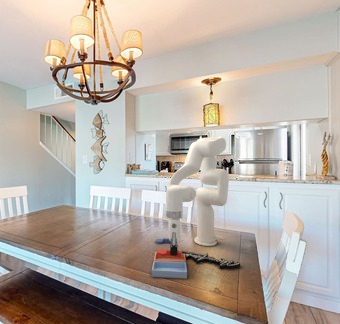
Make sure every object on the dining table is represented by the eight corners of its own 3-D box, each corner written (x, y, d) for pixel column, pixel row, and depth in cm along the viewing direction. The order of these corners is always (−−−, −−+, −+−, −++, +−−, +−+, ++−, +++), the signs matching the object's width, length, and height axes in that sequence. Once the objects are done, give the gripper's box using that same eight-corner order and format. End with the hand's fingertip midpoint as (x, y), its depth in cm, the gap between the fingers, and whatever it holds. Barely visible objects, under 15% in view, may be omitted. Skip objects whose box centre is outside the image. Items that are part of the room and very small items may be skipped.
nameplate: (240, 258, 97) (240, 269, 88) (240, 261, 97) (240, 272, 88) (182, 248, 108) (177, 257, 98) (182, 251, 108) (177, 260, 98)
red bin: (184, 259, 100) (184, 253, 100) (185, 267, 92) (185, 261, 92) (155, 257, 101) (155, 252, 101) (153, 266, 93) (153, 260, 93)
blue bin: (185, 268, 91) (185, 262, 91) (187, 278, 84) (187, 272, 83) (153, 266, 93) (153, 260, 93) (151, 276, 85) (151, 270, 85)
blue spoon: (174, 241, 121) (175, 237, 121) (175, 244, 117) (175, 240, 117) (156, 240, 122) (156, 236, 122) (155, 243, 118) (155, 239, 118)
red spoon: (181, 254, 98) (181, 250, 98) (181, 259, 94) (181, 254, 94) (157, 251, 99) (158, 246, 99) (156, 255, 95) (157, 250, 95)
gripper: (183, 219, 88) (182, 262, 88) (181, 210, 103) (181, 247, 103) (165, 218, 89) (164, 261, 89) (166, 210, 104) (166, 246, 104)
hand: (173, 254), depth 96 cm, fingers closed on red spoon, 1 cm apart
